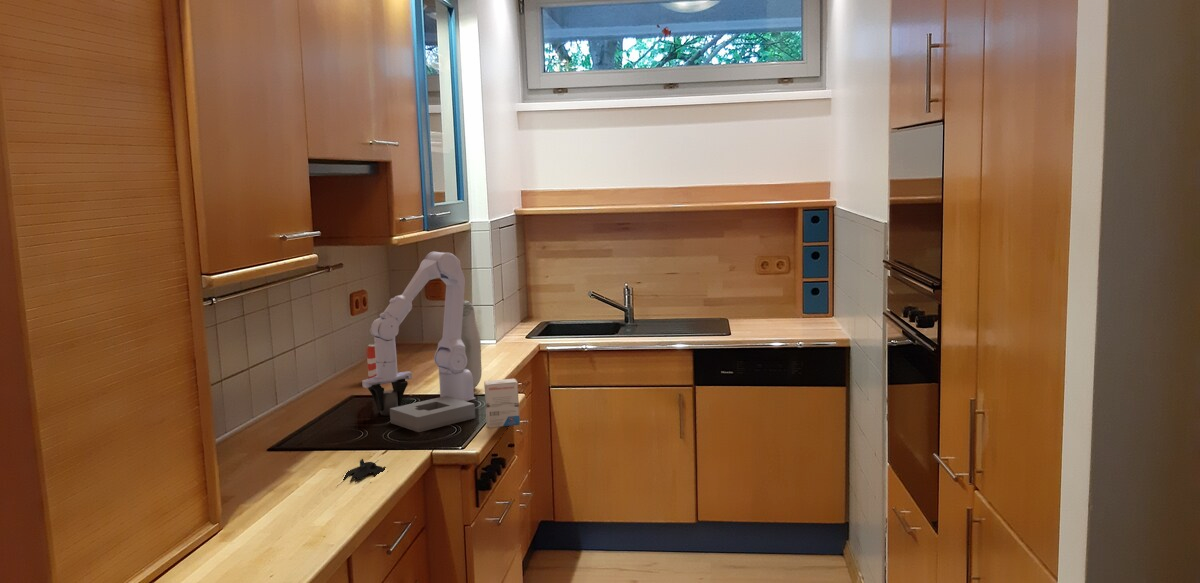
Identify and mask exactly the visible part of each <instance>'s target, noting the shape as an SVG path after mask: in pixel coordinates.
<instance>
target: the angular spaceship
mask: <svg viewBox="0 0 1200 583" xmlns="http://www.w3.org/2000/svg"><path fill="white" fill-rule="evenodd" d="M376 463H378V460H376V461H375V462H373V461H364V458H361V459H360V460H359V466H357V467H354V468H352V469H349V470H350V471H349V470H347V471H348V472H347V471H346V472H347V473H346V472H345V473H346V475H345V477H344V479H343V480H344V481H345V480H347V479H348V478H349V477H351V479H350V480H349V483H351V482H352V481H354V480H355V479H356V480H355V481H354V483H357V482H359V481H360V480H362V479H364V478H366V477H367V476H369V475H370V474H373V476H376V475H377V474H379V473H380V472H383V471H384V470H385V468H387V467H386V466H380V465H377V464H376ZM348 476H349V477H348ZM347 477H348V478H347ZM346 478H347V479H346Z"/></svg>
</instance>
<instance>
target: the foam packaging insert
mask: <svg viewBox="0 0 1200 583" xmlns="http://www.w3.org/2000/svg"><path fill="white" fill-rule="evenodd" d="M389 419H390V420H389V421H390V424H392V425H396V426H399V427H401V428H405V429H407V430H411V431H414V432H416V433H421V432H425V431H429V430H433V429H437V428H441V427H446V426H449V425H453V424H457V423H461V422H465V421H469V420H473V419H476V405H475V402H474V403H473V402H469V401H463V400H459V399H455V398H452V397H448V396H443V397H440V396H439V397H435V398H430V399H426V400H422V401H417V402H413V403H409V404H405V405H401V406H399V407H394V408H390V415H389Z"/></svg>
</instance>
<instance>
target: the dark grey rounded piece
mask: <svg viewBox="0 0 1200 583" xmlns="http://www.w3.org/2000/svg"><path fill="white" fill-rule="evenodd" d="M383 405H384V409H383V411H380V415H381V416H388V417H390V408H394V407H398V393H397V391H395V390H393V389H392V390H391V389H389V390H384V394H383Z"/></svg>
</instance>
